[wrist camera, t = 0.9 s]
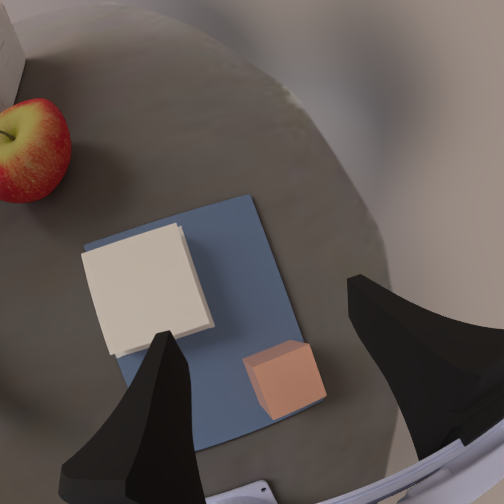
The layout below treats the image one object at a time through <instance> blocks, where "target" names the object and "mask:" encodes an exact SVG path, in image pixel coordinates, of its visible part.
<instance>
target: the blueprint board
mask: <svg viewBox="0 0 504 504" xmlns="http://www.w3.org/2000/svg"><path fill="white" fill-rule="evenodd" d="M173 223H177V227H178V230H179V233H180V236H181V239H182V243H183V246H184V249H185V252H186V255H187V258H188V261H189V264H190V267H191V270H192V274H193V276H194V279H195V282H196V285H197V288H198V291H199V294H200V297H201V300H202V303H203V306H204V309H205V311H206V314H207V317H208V320H209V324H206V325H203V326H200V327H197V328H194V329H191V330H189V331H186V332H182V333H179V334H176V335H173V336H174V338H175V340H176V342H177V344H178V346H179V347H180V349H181V351H182V353H183V355H184V356H185V358H186V360H187V362H188V365H189V371H190V379H191V391H192V432H193V443H194V449H195V451H198V450H201V449H204V448H207V447H210V446H214V445H217V444H220V443H223V442H225V441H228V440H231V439H234V438H237V437H239V436H242V435H245V434H248V433H250V432H253V431H255V430H258V429H260V428H263V427H265V426H268V425H270V424H273V423H275V422H277V421H280V420H282V419H284V418H287V417H289V416H291V415H293V414H296V413H298V412H300V411H302V410H304V409H307V408H309V407H311V406H313V405H315V404H317V403H319V402H321V401H323V400H324V398H321V399H319V400H317V401H315V402H313V403H311V404H309V405H307V406H305V407H302V408H300V409H298V410H296V411H294V412H291V413H289V414H287V415H285V416H282V417H280V418H278V419H275V420H273V419H272V418H271V417H270V416H269V415H268V413H267V412H266V411H265V410H264V409H263V408H262V406H261V405H260V403H259V401H258V398H257V396H256V393H255V391H254V388H253V386H252V383H251V381H250V378H249V375H248V373H247V370H246V368H245V365H244V362H243V360H242V359H243V358H246V357H248V356H251V355H253V354H256V353H259V352H261V351H264V350H266V349H269V348H271V347H274V346H276V345H279V344H281V343H284V342H286V341H288V340H294V341H298V342H303V343H304V341H303V338H302V335H301V332H300V329H299V326H298V324H297V321H296V318H295V315H294V312H293V310H292V307H291V304H290V301H289V298H288V296H287V293H286V290H285V287H284V285H283V282H282V279H281V276H280V273H279V271H278V268H277V265H276V263H275V260H274V257H273V254H272V252H271V249H270V246H269V243H268V241H267V238H266V235H265V233H264V230H263V227H262V225H261V222H260V219H259V217H258V214H257V211H256V209H255V206H254V203H253V201H252V198H251V195H250V194H247V195H244V196H240V197H236V198H233V199H229V200H225V201H222V202H218V203H215V204H211V205H208V206H204V207H201V208H197V209H194V210H191V211H187V212H184V213H181V214H177V215H174V216H171V217H167V218H164V219H161V220H158V221H155V222H151V223H148V224H145V225H142V226H139V227H136V228H133V229H130V230H127V231H123V232H120V233H117V234H114V235H111V236H109V237H106V238H103V239H100V240H97V241H94V242H91V243H88V244H85V245H84V249H85V252H88V251H91V250H94V249H96V248H99V247H102V246H105V245H108V244H111V243H114V242H117V241H120V240H123V239H126V238H129V237H132V236H135V235H138V234H142V233H145V232H148V231H151V230H154V229H157V228H160V227H164V226H167V225H170V224H173ZM150 344H151V343H148V344H145V345H142V346H139V347H136V348H132V349H129V350H126V351H122V352H119V353H116V354H115V356H116V358H117V361H118V364H119V366H120V369H121V372H122V374H123V377H124V379H125V382H126V384H127V387H128V388H129V386H130V384H131V382H132V380H133V379H134V377H135V375H136V373H137V371H138V369H139V367H140V365H141V363H142V361H143V359H144V357H145V355H146V353H147V351H148V348H149V346H150Z"/></svg>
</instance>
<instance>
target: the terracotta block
mask: <svg viewBox="0 0 504 504" xmlns="http://www.w3.org/2000/svg"><path fill="white" fill-rule="evenodd" d="M242 360H243V362H244V365H245V368H246V370H247V373H248V375H249V378H250V381H251V383H252V386H253V388H254V391H255V393H256V396H257V398H258V401H259V403H260V405H261V406H262V408H263V409H264V410H265V411H266V412H267V413H268V415H269V416H270V417H271V418H272V419H273V420H275V419H278V418H280V417H282V416H285V415H287V414H289V413H291V412H294V411H296V410H298V409H300V408H302V407H305V406H307V405H309V404H311V403H313V402H315V401H317V400H319V399H321V398H323V397H325V396H327V394H326V391H325V388H324V385H323V382H322V380H321V377H320V374H319V371H318V368H317V365H316V362H315V359H314V356H313V353H312V350H311V348H310V345H309V344H308V343H303V342H298V341H294V340H288V341H286V342H284V343H281V344H279V345H276V346H274V347H271V348H269V349H266V350H264V351H261V352H259V353H256V354H253V355H251V356H248V357H246V358H243V359H242Z"/></svg>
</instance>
